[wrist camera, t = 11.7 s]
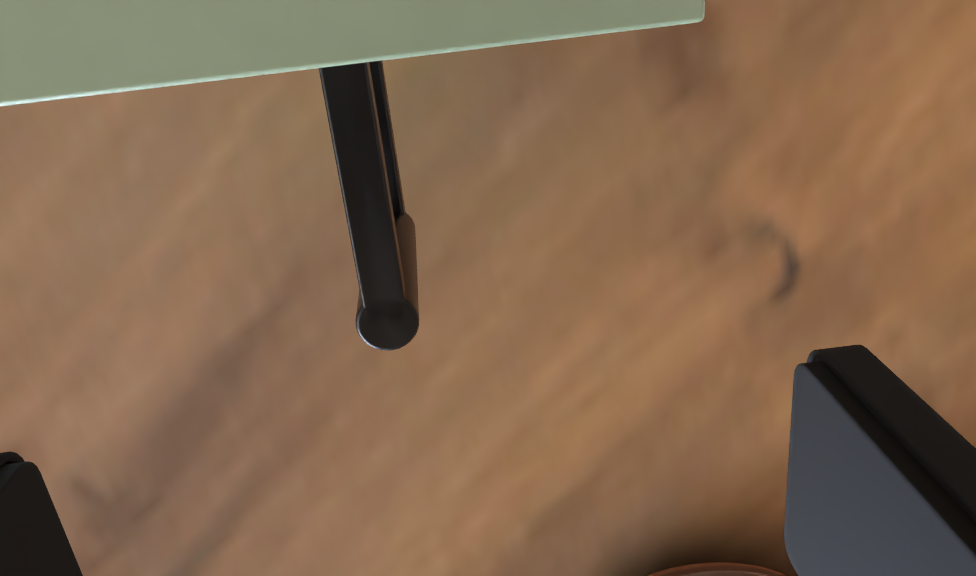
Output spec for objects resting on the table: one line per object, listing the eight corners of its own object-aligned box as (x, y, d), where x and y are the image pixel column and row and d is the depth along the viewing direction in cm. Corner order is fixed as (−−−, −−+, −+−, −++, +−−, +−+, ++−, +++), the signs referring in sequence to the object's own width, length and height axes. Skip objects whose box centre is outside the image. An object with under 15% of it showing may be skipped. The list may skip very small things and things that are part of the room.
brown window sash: (463, -71, 18) (505, -90, 11) (494, 225, 21) (545, 378, 14) (72, -27, 18) (-176, -13, 10) (159, 269, 21) (16, 453, 13)
